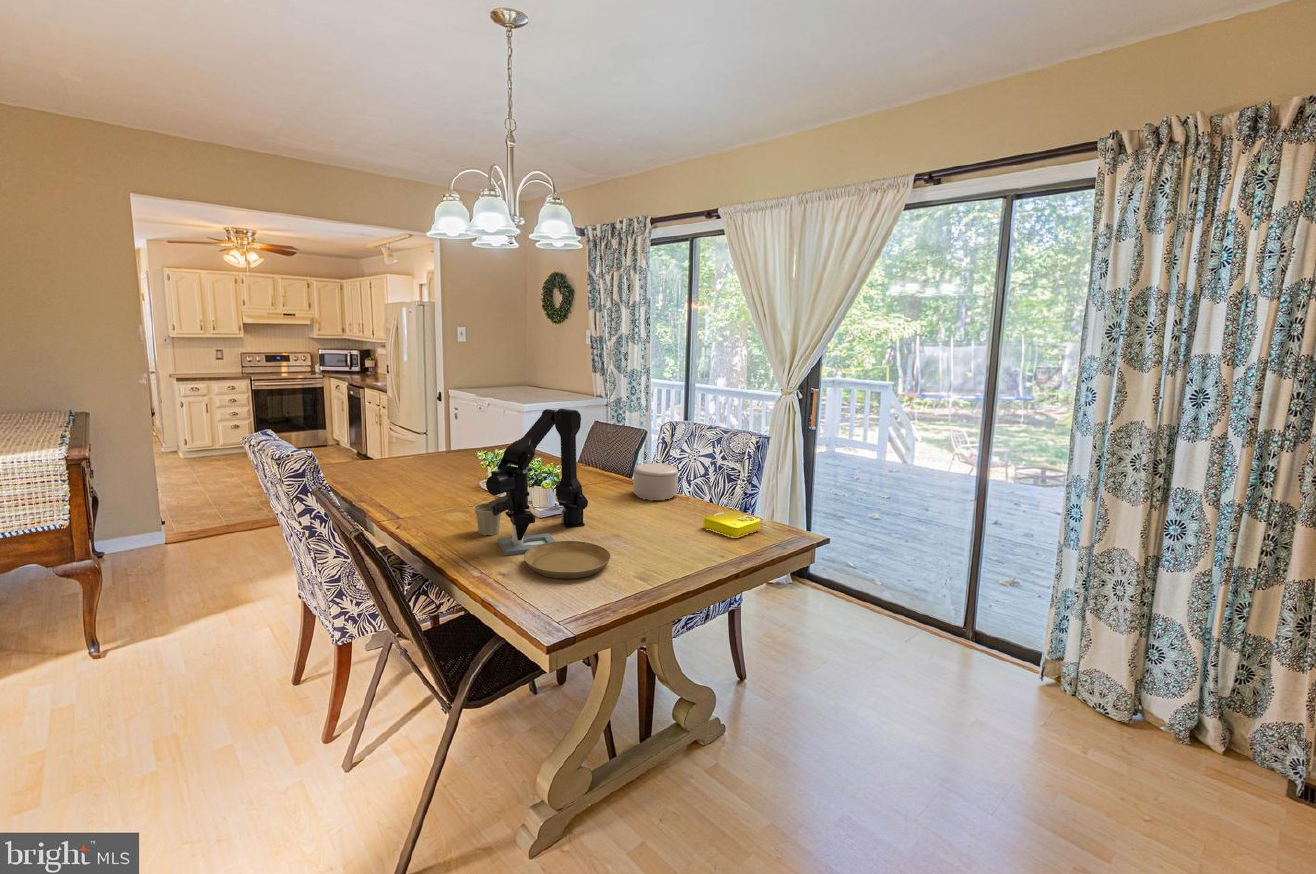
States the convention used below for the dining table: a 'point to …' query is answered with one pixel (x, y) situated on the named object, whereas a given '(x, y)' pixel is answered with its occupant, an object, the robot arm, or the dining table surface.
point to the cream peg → (515, 540)
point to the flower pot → (487, 520)
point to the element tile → (731, 523)
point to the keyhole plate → (528, 543)
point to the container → (655, 481)
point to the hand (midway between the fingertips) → (518, 538)
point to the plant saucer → (567, 559)
